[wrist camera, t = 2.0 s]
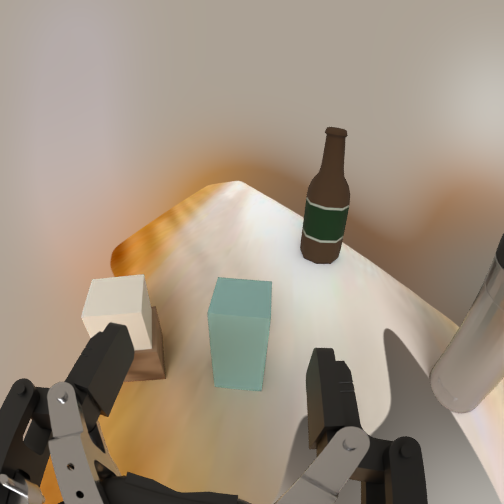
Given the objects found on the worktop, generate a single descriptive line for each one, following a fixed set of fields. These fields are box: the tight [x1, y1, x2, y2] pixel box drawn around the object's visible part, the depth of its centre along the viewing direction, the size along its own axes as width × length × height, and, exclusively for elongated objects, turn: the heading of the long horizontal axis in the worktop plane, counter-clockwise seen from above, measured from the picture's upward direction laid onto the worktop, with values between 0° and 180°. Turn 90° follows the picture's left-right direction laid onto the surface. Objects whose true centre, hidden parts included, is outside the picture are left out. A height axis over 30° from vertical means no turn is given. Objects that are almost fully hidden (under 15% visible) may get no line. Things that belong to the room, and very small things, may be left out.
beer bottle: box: [300, 127, 350, 264], centre depth 47 cm, size 8×8×24 cm
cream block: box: [81, 274, 152, 350], centre depth 26 cm, size 6×6×5 cm
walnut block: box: [124, 306, 166, 382], centre depth 28 cm, size 7×7×5 cm
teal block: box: [208, 277, 272, 391], centre depth 26 cm, size 5×5×11 cm
